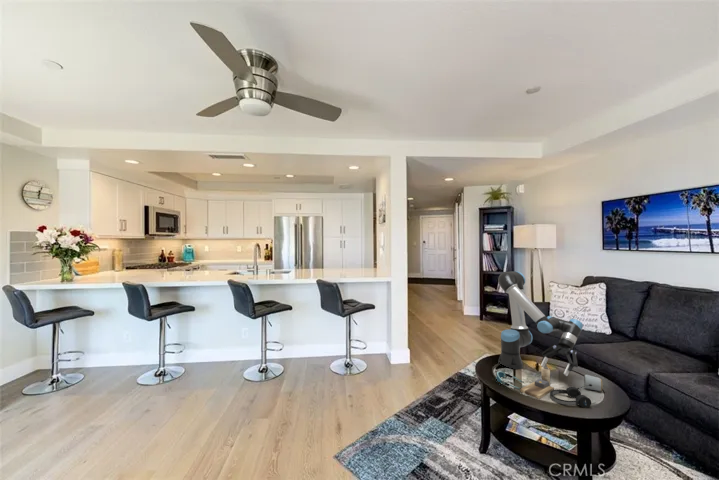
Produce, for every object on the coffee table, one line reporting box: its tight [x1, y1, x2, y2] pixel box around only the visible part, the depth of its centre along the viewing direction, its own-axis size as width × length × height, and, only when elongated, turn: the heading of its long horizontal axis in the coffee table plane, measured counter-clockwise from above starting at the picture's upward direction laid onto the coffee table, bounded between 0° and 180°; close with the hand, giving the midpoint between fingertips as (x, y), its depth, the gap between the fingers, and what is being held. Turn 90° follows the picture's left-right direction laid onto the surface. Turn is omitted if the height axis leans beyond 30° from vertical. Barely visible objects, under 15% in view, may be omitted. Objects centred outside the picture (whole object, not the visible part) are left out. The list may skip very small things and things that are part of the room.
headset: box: [549, 384, 592, 408], centre depth 159 cm, size 14×10×20 cm
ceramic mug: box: [583, 374, 604, 392], centre depth 174 cm, size 11×8×8 cm
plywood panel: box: [519, 381, 555, 400], centre depth 170 cm, size 10×18×2 cm, turn 125°
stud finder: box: [534, 378, 549, 389], centre depth 174 cm, size 5×6×3 cm
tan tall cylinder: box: [540, 363, 551, 386], centre depth 179 cm, size 4×4×12 cm
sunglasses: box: [495, 371, 525, 390], centre depth 181 cm, size 14×15×5 cm
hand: (553, 370), depth 179 cm, fingers open, 13 cm apart
